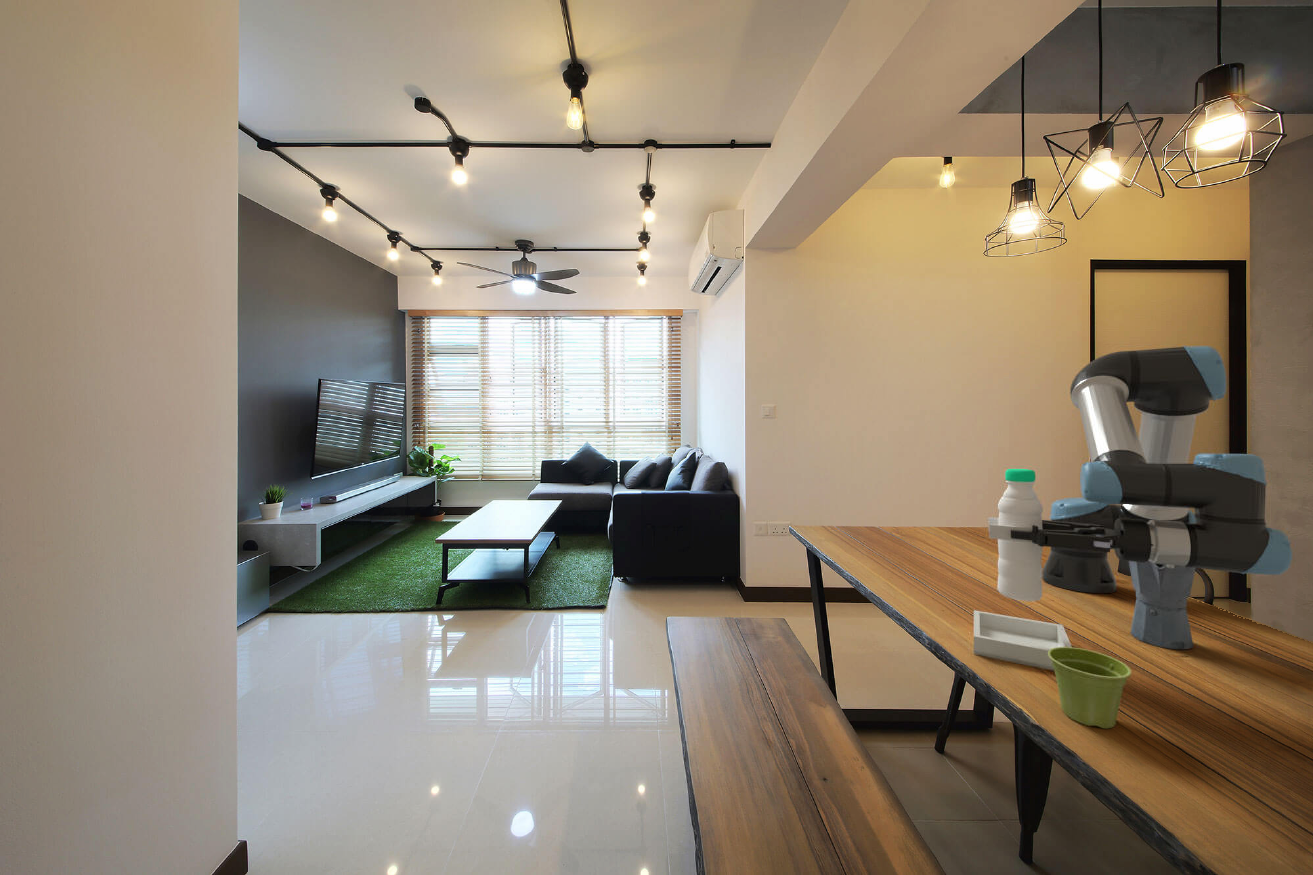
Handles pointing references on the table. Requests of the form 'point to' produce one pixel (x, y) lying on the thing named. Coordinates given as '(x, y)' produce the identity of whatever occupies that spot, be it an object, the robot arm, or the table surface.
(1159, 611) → the moka pot
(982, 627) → the white tray
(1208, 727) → the table surface
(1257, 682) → the table surface
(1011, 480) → the water bottle
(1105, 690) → the plant pot
